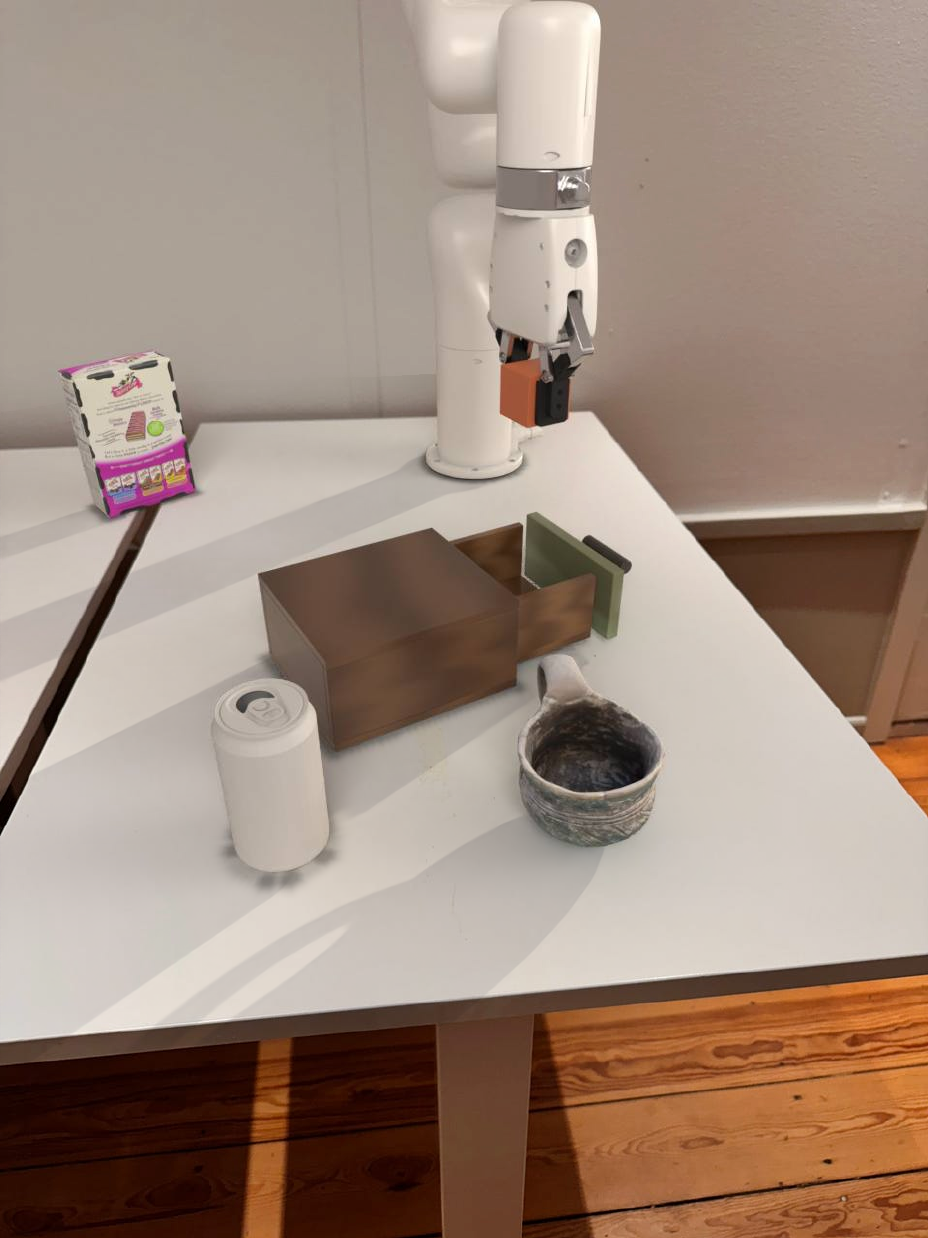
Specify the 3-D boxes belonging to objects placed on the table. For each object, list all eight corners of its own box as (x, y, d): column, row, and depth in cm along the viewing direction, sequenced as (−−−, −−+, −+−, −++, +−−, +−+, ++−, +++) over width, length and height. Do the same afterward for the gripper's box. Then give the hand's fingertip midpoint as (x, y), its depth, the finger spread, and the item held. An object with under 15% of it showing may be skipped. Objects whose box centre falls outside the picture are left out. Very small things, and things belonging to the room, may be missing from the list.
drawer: (567, 561, 91) (571, 501, 87) (653, 623, 81) (662, 558, 77) (396, 613, 82) (393, 550, 79) (469, 689, 73) (469, 620, 69)
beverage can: (294, 795, 64) (275, 660, 57) (349, 843, 60) (335, 705, 53) (217, 842, 60) (186, 704, 53) (270, 896, 56) (245, 754, 50)
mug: (558, 892, 56) (568, 776, 51) (471, 771, 66) (471, 662, 60) (680, 842, 60) (702, 728, 54) (581, 734, 69) (590, 628, 64)
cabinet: (433, 606, 85) (432, 527, 80) (516, 686, 75) (519, 599, 70) (269, 657, 78) (257, 573, 73) (335, 752, 68) (325, 661, 63)
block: (540, 405, 82) (542, 356, 80) (568, 419, 79) (571, 369, 76) (499, 413, 80) (500, 364, 78) (527, 428, 77) (529, 377, 75)
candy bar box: (178, 480, 110) (153, 347, 101) (197, 492, 107) (173, 357, 98) (90, 505, 104) (55, 367, 95) (107, 520, 101) (72, 378, 92)
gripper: (649, 199, 65) (626, 435, 75) (522, 179, 78) (516, 383, 87) (568, 207, 62) (554, 452, 72) (448, 184, 74) (451, 396, 84)
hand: (533, 412), depth 79 cm, fingers closed on block, 4 cm apart
